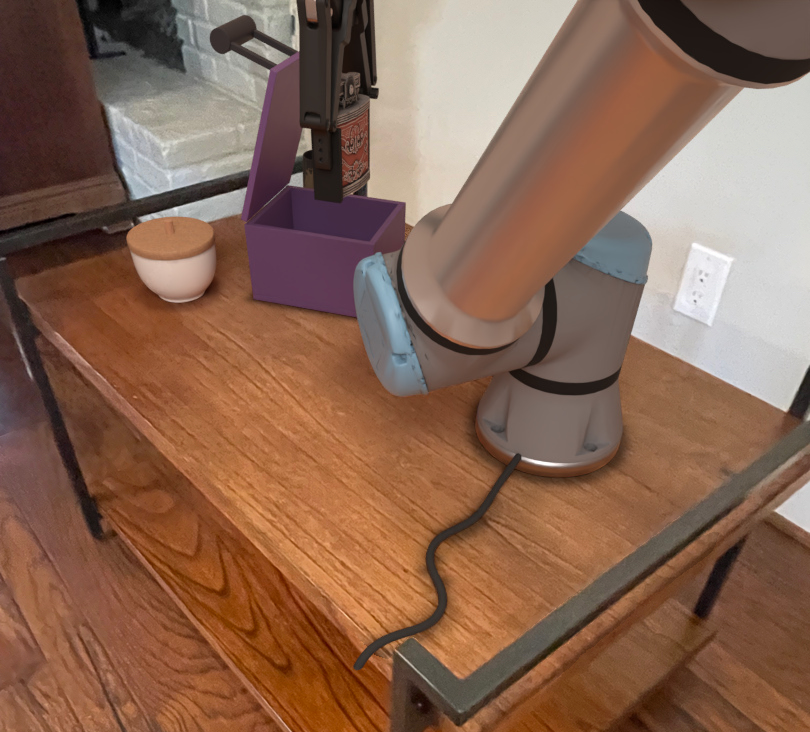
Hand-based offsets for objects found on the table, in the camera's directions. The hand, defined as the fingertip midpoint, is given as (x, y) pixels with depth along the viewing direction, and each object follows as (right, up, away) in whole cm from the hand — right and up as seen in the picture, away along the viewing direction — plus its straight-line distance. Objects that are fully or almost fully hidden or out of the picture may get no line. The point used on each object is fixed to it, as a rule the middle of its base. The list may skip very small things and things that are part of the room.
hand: (343, 183), depth 76 cm
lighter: (0, 0, 0) cm, 0 cm away
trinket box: (-23, -3, +23) cm, 33 cm away
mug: (-5, +9, +37) cm, 38 cm away
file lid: (-8, +12, +13) cm, 20 cm away
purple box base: (-4, -2, +25) cm, 26 cm away
